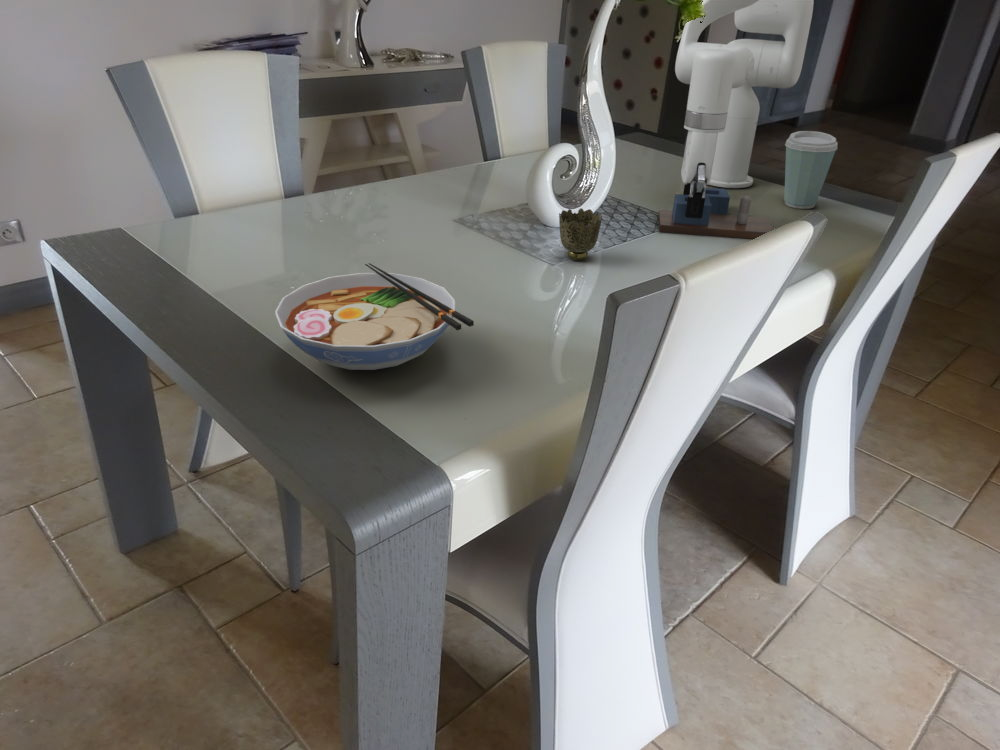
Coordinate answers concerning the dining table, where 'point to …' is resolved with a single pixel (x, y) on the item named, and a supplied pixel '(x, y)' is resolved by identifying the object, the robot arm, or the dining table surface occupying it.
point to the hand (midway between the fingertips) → (691, 210)
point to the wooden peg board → (721, 224)
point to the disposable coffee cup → (807, 167)
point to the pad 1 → (680, 210)
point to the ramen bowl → (367, 318)
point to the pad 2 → (718, 200)
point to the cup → (579, 232)
